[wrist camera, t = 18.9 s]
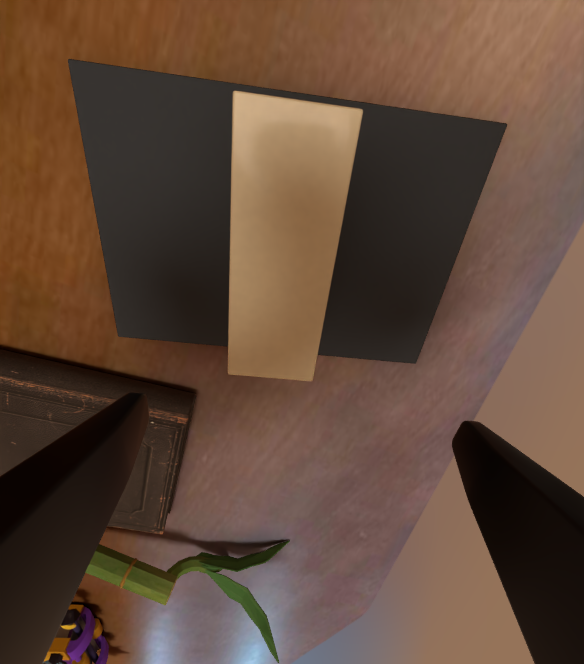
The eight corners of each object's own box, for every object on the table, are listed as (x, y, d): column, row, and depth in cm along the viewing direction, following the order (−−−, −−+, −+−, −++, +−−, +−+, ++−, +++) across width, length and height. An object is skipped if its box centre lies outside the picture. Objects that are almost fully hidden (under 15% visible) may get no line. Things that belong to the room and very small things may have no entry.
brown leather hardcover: (170, 510, 31) (162, 534, 29) (-100, 465, 27) (-131, 490, 25) (197, 389, 24) (189, 411, 22) (-171, 304, 20) (-222, 321, 18)
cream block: (364, 108, 11) (312, 382, 17) (344, 119, 15) (307, 338, 21) (232, 89, 11) (227, 374, 17) (247, 105, 14) (238, 331, 20)
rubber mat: (500, 124, 15) (508, 123, 15) (413, 359, 22) (416, 364, 22) (74, 61, 14) (66, 58, 14) (122, 332, 21) (117, 336, 21)
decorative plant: (-41, 501, 26) (294, 639, 26) (45, 439, 34) (303, 545, 34) (-42, 549, 28) (269, 677, 28) (39, 480, 36) (283, 581, 36)
